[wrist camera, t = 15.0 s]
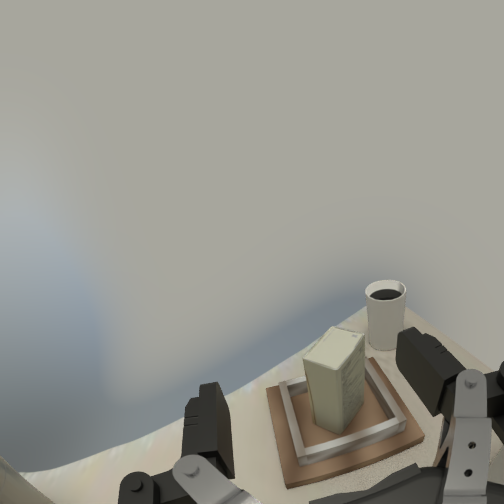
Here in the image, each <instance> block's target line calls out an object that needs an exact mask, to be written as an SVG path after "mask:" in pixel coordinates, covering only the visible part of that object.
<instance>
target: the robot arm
mask: <svg viewBox="0 0 504 504" xmlns="http://www.w3.org/2000/svg"><path fill="white" fill-rule="evenodd" d="M396 364H397V367H398V369H399V371H400V372H401V373H402V375H403V376H404V377H405V379H406V380H407V381H408V383H409V384H410V386H411V387H412V388H413V390H414V391H415V392H416V394H417V395H418V397H419V398H420V399H421V401H422V402H423V404H424V405H425V406H426V408H427V409H428V411H429V412H430V413H431V415H432V416H433V417H434V416H436V415H438V414H440V413H442V414H443V416H444V417H443V421H442V427H441V433H440V439H439V445H438V450H437V454H436V458H435V460H434V463H433V466H432V467H422V468H418V466H417V464H416V463H414V464H412V465H410V466H408V467H406V468H404V469H401V470H399V471H397V472H395V473H392V474H391V475H389V476H388V477H386V478H385V479H383V480H382V481H380V482H379V483H377V484H376V485H374V486H373V487H371V488H370V489H368V490H364V491H357V492H349V493H339V494H334V495H331V496H327V497H324V498H320V499H317V500H313V501H309V504H504V485H503V484H498V483H494V482H490V481H487V478H488V470H489V460H490V448H491V429H493V430H494V431H495V433H496V434H497V436H498V437H499V439H500V440H501V442H502V443H503V445H504V361H503V362H502V364H501V366H500V369H499V370H498V371H495V372H491V373H487V374H483V373H482V372H480V371H478V370H475V369H466V368H465V367H464V366H463V365H462V364H461V363H460V362H459V361H458V360H457V359H456V358H455V357H454V356H453V355H452V354H451V353H450V352H449V351H447V349H446V348H445V347H444V346H442V344H441V343H440V342H439V341H438V340H437V339H436V338H435V337H433V336H431V335H429V334H426V333H425V334H423V335H422V334H421V333H420V332H419V331H418V330H417V329H416V328H415V327H411V328H408V329H406V330H403V331H401V332H399V333H398V335H397V348H396ZM184 418H185V419H184V428H183V440H182V454H181V458H180V459H179V460H178V461H177V462H176V463H175V465H174V467H173V468H172V469H171V470H169V471H166V472H163V473H160V474H157V475H154V476H151V477H150V476H149V475H148V474H146V473H144V472H133V473H130V474H128V475H127V476H125V477H124V478H123V480H122V481H121V484H120V490H119V498H118V504H263V503H261V502H260V501H259V500H257V499H256V498H255V497H253V496H252V495H251V494H249V493H248V492H246V491H245V490H241V489H240V488H238V487H237V486H236V485H235V484H233V483H232V482H231V481H230V480H229V479H235V473H234V460H233V447H232V434H231V419H230V412H229V408H228V405H227V402H226V400H225V398H224V395H223V393H222V390H221V388H220V385H219V384H218V382H213V383H208V384H202V385H200V390H199V397H195V398H191V399H190V400H189V402H188V404H187V405H186V407H185V416H184ZM0 504H55V503H54V502H52V501H51V500H50V499H48V498H47V497H46V496H45V495H43V494H42V493H41V492H40V491H38V490H37V489H36V488H35V487H34V486H32V485H31V484H30V483H29V482H28V481H27V480H25V479H24V478H23V477H22V476H21V475H20V474H19V473H18V472H17V471H16V470H15V469H13V468H12V467H11V466H10V465H9V464H8V463H7V462H6V461H5V460H4V459H3V458H2V457H1V456H0Z"/></svg>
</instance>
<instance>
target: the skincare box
mask: <svg viewBox="0 0 504 504" xmlns="http://www.w3.org/2000/svg"><path fill="white" fill-rule="evenodd" d="M303 363H304V369H305V375H306V382H307V388H308V394H309V401H310V407H311V414H312V420H313V424H316V425H318V426H320V427H322V428H324V429H327V430H329V431H331V432H334V433H336V434H339V435H340V434H341V433H342V432H343V431H344V429H345V428H346V427H347V426H348V424H349V423H350V422H351V420H352V419H353V418H354V416H355V415H356V413H357V412H358V411H359V409H360V408H361V406H362V404H363V403H364V380H365V334H363V333H359V332H355V331H351V330H347V329H343V328H339V327H335V326H332V327H331V328H330V329H329V330H328V331H327V332H326V333H325V334H324V335H323V336H322V337H321V338H320V339H319V340H318V341H317V342H316V343H315V345H314V346H313V347H312V348H311V349H310V350H309V351H308V352H307V353H306V354H305V356H304V357H303Z"/></svg>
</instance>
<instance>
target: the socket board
mask: <svg viewBox="0 0 504 504" xmlns="http://www.w3.org/2000/svg"><path fill="white" fill-rule="evenodd" d="M266 392H267V397H268V402H269V407H270V412H271V417H272V422H273V427H274V432H275V437H276V442H277V447H278V451H279V456H280V461H281V466H282V471H283V476H284V481H285V485H286V488H287V489H290V488H294V487H298V486H303V485H307V484H311V483H314V482H318V481H322V480H325V479H329V478H332V477H335V476H338V475H342V474H345V473H348V472H351V471H354V470H357V469H359V468H362V467H365V466H368V465H370V464H373V463H375V462H378V461H381V460H383V459H385V458H388V457H390V456H393V455H395V454H397V453H399V452H402V451H404V450H406V449H408V448H410V447H413V446H415V445H417V444H419V443H421V442H423V439H424V437H425V435H424V433H423V431H422V430H421V428H420V427H419V425H418V424H417V422H416V420H415V419H414V417H413V416H412V414H411V413H410V411H409V410H408V408H407V407H406V405H405V404H404V402H403V401H402V399H401V398H400V396H399V395H398V393H397V392H396V390H395V389H394V387H393V386H392V384H391V383H390V381H389V380H388V378H387V377H386V375H385V374H384V372H383V371H382V369H381V368H380V366H379V365H378V363H377V362H376V361H375V359H374V358H373V357H371V358H369V359H368V358H367V357H365V380H364V403H363V404H362V406H361V408H360V409H359V411H358V412H357V413H356V415H355V416H354V418H353V419H352V420H351V422H350V423H349V424H348V426H347V427H346V428H345V429H344V431H343V432H342V433H341V434H340V435H339V434H336V433H334V432H331V431H329V430H327V429H324V428H322V427H320V426H318V425H316V424H313V420H312V414H311V407H310V401H309V394H308V388H307V382H306V376H302V377H299V378H295V379H291V380H287V381H283V382H279V385H278V386H274V387H269V388H266Z"/></svg>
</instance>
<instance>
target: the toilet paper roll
mask: <svg viewBox="0 0 504 504" xmlns="http://www.w3.org/2000/svg"><path fill="white" fill-rule="evenodd" d="M487 481H490V482H494V483H498V484H503V485H504V445H503V446H502V448H501V449H500V451H499V452H498V454H497V455H496V457H495V458H494V460H493V461H492V463H491V464H490V466H489V470H488V478H487Z"/></svg>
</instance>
